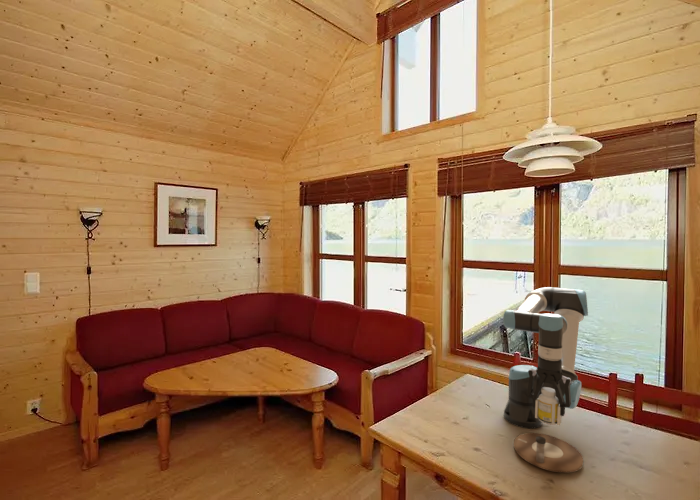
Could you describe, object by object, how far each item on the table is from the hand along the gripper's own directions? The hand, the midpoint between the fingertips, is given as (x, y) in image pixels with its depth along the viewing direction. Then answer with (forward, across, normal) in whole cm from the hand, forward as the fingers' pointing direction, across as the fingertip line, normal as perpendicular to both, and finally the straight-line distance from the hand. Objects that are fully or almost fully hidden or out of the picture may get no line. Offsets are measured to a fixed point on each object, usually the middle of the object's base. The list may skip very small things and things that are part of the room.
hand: (548, 420), depth 131 cm
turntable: (+12, 0, 0) cm, 12 cm away
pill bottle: (+1, 0, 0) cm, 1 cm away
